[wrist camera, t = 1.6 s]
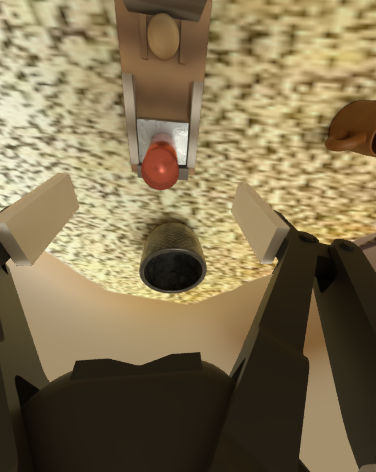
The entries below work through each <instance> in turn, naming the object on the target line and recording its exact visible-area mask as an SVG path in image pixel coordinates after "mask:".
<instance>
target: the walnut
mask: <svg viewBox="0 0 376 472" xmlns="http://www.w3.org/2000/svg"><path fill="white" fill-rule="evenodd" d="M147 35H148V43H149V46H150V48H151V50H152V52H153V53H154V55H155V56H157V57H158V58H159V59H162V60H168V59H170V58H172V57H173V56H174V55H175V53H176V52H177V49H178V46H179V31H178V28H177V25H176V23H175V21H174V20H173V19H172V18H171V17H170V16H169V15H168V14H165V13H158V14H156V15H155V16H154V17H153V18H152V19H151V21H150V23H149V26H148V32H147Z"/></svg>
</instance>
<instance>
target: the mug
mask: <svg viewBox="0 0 376 472" xmlns="http://www.w3.org/2000/svg"><path fill="white" fill-rule="evenodd" d="M325 146H326V148H327V149H329V150H331V151H345V150H349V151H352V152H356V153H359V154H362V155H366V156H372V157H376V100H363V101H357V102H354V103H352V104H350V105H348V106H347V107H345V108H344V109H343V110H342V111H340V113H339V114H338V115H337V116H336V117H335V119H334V120H333V122H332V124H331V127H330V130H329V138H328V139H327V141H326V142H325Z"/></svg>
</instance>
